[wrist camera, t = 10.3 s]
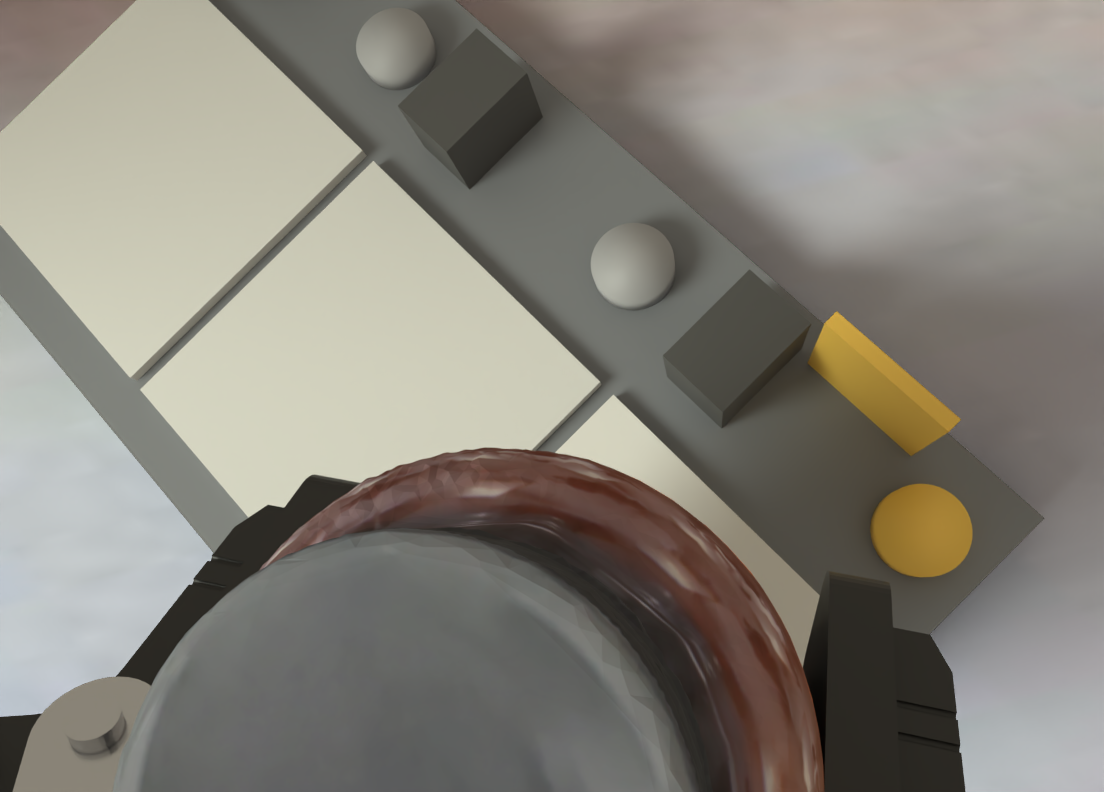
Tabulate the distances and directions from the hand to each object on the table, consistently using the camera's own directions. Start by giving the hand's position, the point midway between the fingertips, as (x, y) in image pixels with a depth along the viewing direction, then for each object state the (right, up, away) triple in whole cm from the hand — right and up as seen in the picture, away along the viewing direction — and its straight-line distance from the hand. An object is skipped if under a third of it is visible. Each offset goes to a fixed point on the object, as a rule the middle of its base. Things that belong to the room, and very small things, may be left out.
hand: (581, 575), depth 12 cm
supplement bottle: (0, -3, +5) cm, 5 cm away
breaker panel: (-3, +3, +10) cm, 11 cm away
